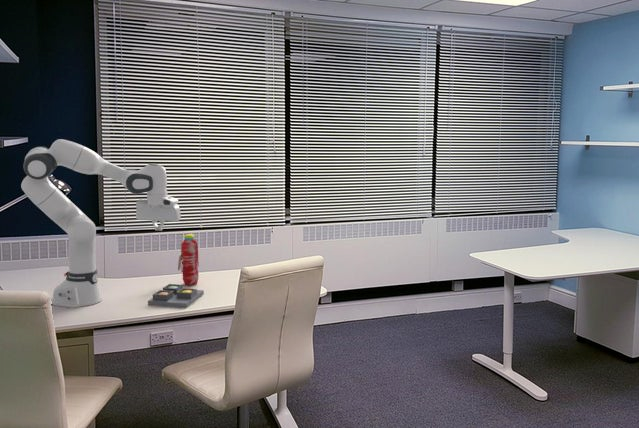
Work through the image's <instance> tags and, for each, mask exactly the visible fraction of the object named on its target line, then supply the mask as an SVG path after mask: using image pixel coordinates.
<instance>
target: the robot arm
mask: <svg viewBox="0 0 639 428" xmlns="http://www.w3.org/2000/svg"><path fill="white" fill-rule="evenodd" d="M22 165H23V167H22V168H23V171H24V173H25V174H26V176H25V177H24V178H23V180H22V182H21V184H20V187H21V190H22V191H23V192H24V194H25V195H26V196H27V198H28V199H29V200H30V201H31V202H32V203H33V204H34V205H35V206H36V207H37V208H38V209H39V210H41V211H42V212H43V213H44V214H45V215H46V216H47V217H48V218H49V219H50V220H51V221H53V222H54V223H55V224H56V225H58V227H60V229H62V230H63V231H64V232H65V233H66V234H67V235H68V250H67V251H68V253H67V257H68V258H67V259H68V271H66V272H65V273H64V274H63V277H65V279H64V281H62V282H60V283H59V285H56V287H55V288H54V290H53V294H52V297H50V299H51V301H52V304H53V306H60V307H66V308H79V307H85V306H92V305H94V304H97V303H98V304H99V302H101V301H102V297H101V293H100V290H99V286H98V269H97V266H96V265H97V264H96V263H97V262H96V245H97V243H96V241H97V239H96V238H97V237H96V235H97V234H96V233H97V230H96V229H97V228H96V224H95V222H94V221H92V219H90V217H88V216H87V214H85V213H84V212H83V211H82V210H81V209H80V208H79V207H78V206H77V205H75V203H73V202H72V201H71V200H70V199H69V197H67V195H65V194H64V193H63V192H62V191H61V190H60V189H59V188H58V187H57V186H56V185H54V183H52V181H50V179H49V176H50V175H51V174H52V173H53V172H54V170H56V169H57V167H58V166H60V167H61V166H62V167H65V168H67V169H70V170H72V171H74V172H77V173H80V174H85V175H101V176H103V177H106V178H109V179H111V180H114V181H117V182H118V183H120V184H121V185H122V186H123V187H124V188H125V189H126V190H127V191H128V192H129V193H132V194H134V195H140V194H143V193H146V197H147V198H146V199H138V200H136V202H135V207H136V210H135V211H136V212H135V218H136V220H138V221H151V223H152V225H153V227H154V230H155V231H161V232H162V231H163V226H164V225H165V223H166V222H179V221H180V220H181V217H182V216H181V209H180V206H179V199H178V198H176V197H173V196H171V195H168V189H167V185H168V177H167V171H166V167H164V166H163V165H161V164H156V163H148V164H146V165H145V166H144V167H142V168H140V169H139V170H138V169H129V168H124V167H120V166H118V165H116V164H113V163H111V162H110V161H107V160H106V159H104V158H103V157H102V156H101V155H100V154H98V153H97V152H95V151H94V150H92V149H90V148H89V147H86V146H85V145H82V144H81V143H80V144H79V143H77V142H74V141H71V140H67V139H62V138H60V139H59V138H58V139H56V140H55V141H54V142H52V144H51V146H50V147H49V148H48V147H47V146H43V145H39V146H34V147H32V148H31V149H29V151H28V153H27V154H26V155H25V156H24V160H23V164H22ZM158 221H159V224H160V225H158V224H157V223H158ZM52 304H51V305H52Z"/></svg>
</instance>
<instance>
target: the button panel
mask: <svg viewBox="0 0 639 428" xmlns="http://www.w3.org/2000/svg"><path fill="white" fill-rule="evenodd" d="M169 286H177V288H168V287H169ZM183 286H184V285H183V284H175V283H168V284H167V285H165V286H163V287H162V289H159V290H157V291H155V293H153V294H152V298H150V299H148V300H147V305H148V306H151V307H152V306H154V307H166V308H167V307H170V308H179V309H180V308H182V309H187V308H189V307H190V306H191V305H193V303H195V302H196V301H197V300H198V299H200V298H201V297H203V296H204V294H205V293H204V291H205V290H202V289H197V288H186V287H183ZM184 290H191V291H192V292H190V293H185V292H182V291H184ZM161 292H168V294H167V295H161V294H158V293H161Z"/></svg>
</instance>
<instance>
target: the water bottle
mask: <svg viewBox="0 0 639 428" xmlns="http://www.w3.org/2000/svg"><path fill="white" fill-rule="evenodd" d="M180 244H181V245H180V255H179V257H178V264H177V265H178V266H177V271H181V273H182V281H183V283H184V285H186V286H194V285H197V284H198V281H199V278H200V277H199V247H198V242H197V240H196V239H195V234H193V233H187V234H185V235H184V239H183V241H182V243H180Z"/></svg>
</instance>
